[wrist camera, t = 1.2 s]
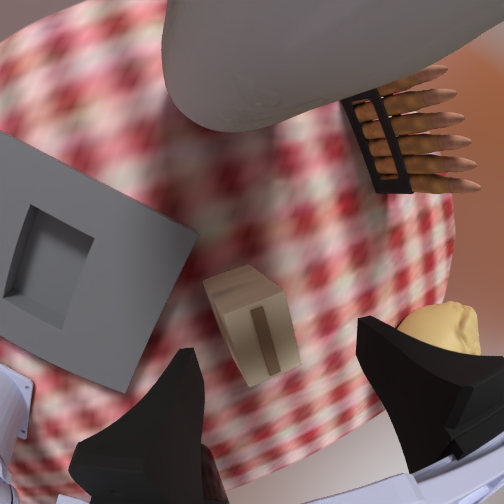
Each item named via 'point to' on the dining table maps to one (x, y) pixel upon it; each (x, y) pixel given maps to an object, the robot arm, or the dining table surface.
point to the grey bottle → (303, 52)
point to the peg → (253, 323)
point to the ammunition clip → (408, 137)
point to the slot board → (81, 266)
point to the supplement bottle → (211, 479)
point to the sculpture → (445, 327)
